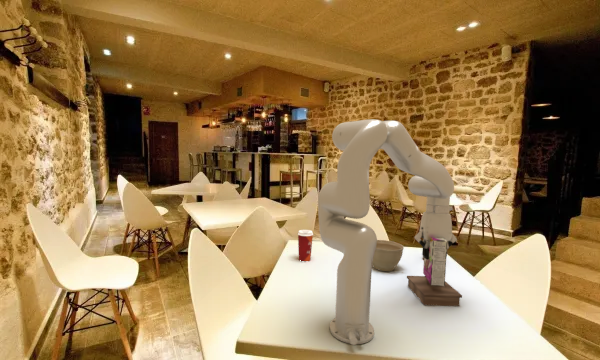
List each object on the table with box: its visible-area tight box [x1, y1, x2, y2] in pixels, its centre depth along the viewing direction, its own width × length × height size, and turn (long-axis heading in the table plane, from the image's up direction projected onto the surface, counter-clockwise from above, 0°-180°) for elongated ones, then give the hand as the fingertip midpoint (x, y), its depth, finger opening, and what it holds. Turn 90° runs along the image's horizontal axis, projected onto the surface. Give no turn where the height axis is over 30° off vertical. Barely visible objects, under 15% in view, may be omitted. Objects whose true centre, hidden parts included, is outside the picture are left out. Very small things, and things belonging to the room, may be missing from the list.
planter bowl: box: [372, 239, 404, 272], centre depth 134 cm, size 16×16×11 cm
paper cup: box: [297, 229, 314, 262], centre depth 142 cm, size 8×8×14 cm
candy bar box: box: [422, 238, 448, 286], centre depth 107 cm, size 11×5×16 cm, turn 171°
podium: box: [406, 275, 463, 307], centre depth 108 cm, size 16×13×4 cm
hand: (434, 258), depth 107 cm, fingers closed on candy bar box, 5 cm apart
